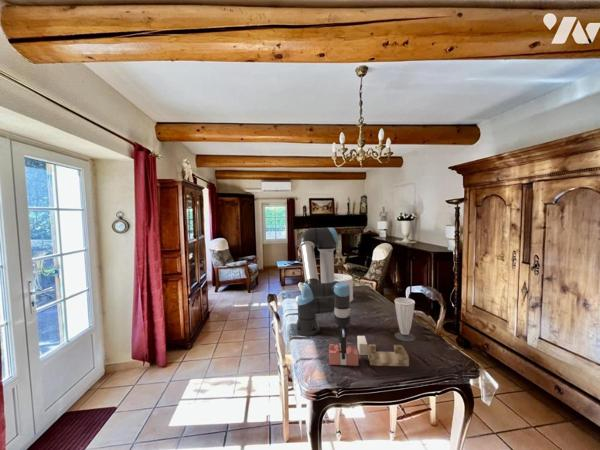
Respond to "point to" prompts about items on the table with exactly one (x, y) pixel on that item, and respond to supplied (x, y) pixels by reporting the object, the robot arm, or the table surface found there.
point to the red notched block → (336, 359)
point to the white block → (362, 345)
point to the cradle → (388, 356)
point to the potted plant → (300, 289)
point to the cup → (404, 318)
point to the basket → (345, 279)
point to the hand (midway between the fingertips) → (342, 360)
